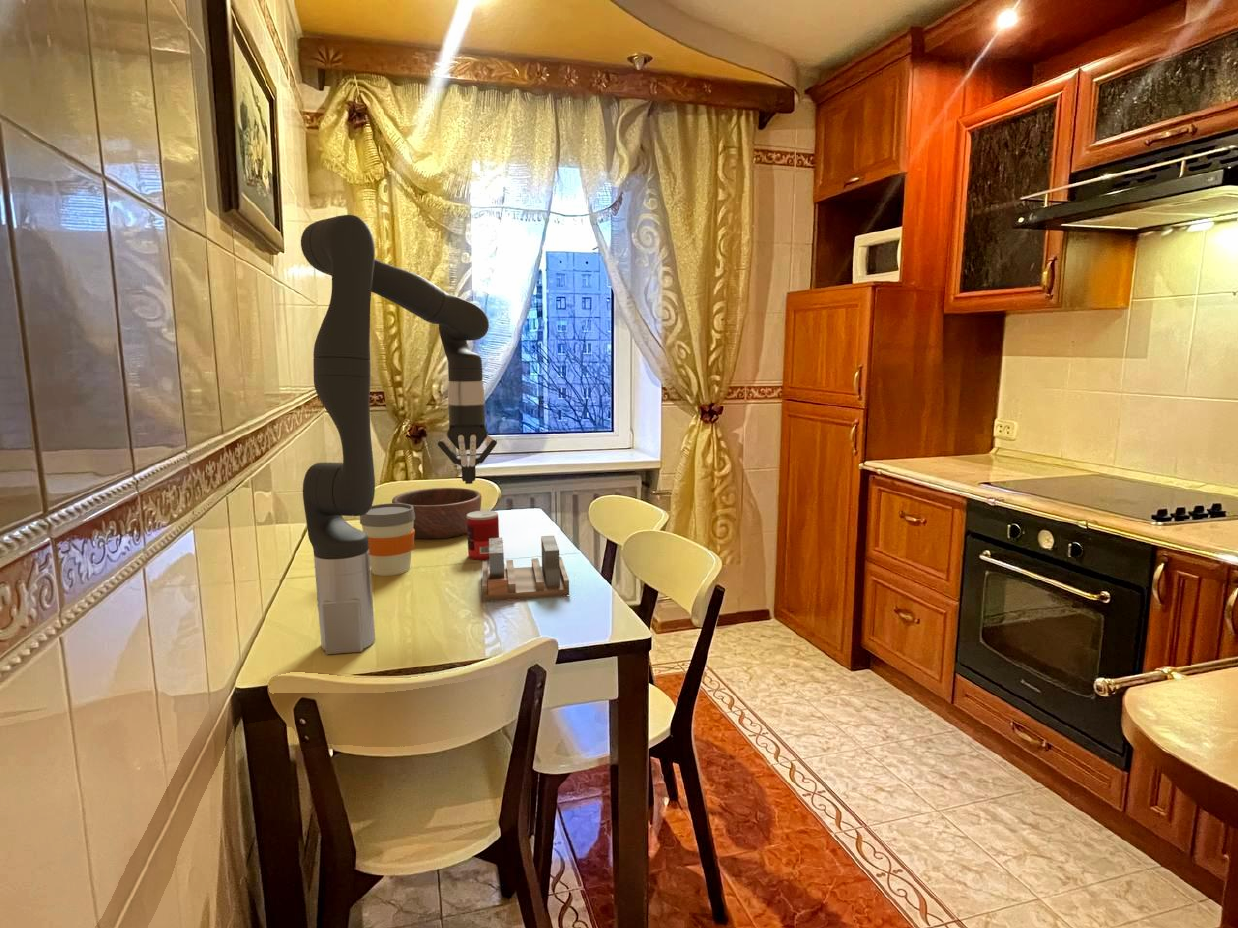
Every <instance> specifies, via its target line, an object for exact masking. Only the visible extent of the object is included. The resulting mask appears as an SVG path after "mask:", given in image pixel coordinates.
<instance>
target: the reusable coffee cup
mask: <svg viewBox="0 0 1238 928" xmlns="http://www.w3.org/2000/svg"><path fill="white" fill-rule="evenodd" d="M414 520H415V514H414V508H413V506H412V505H409V504H402V503H392V502H391V503H380V504H374V505H373V504H372V506H371V508H370V510H369V511H368V512H367V513H366V514H365V515H362V516H359V524H360V525H361V527H362V531H363V532H364V533H366V535H367V536H368V541H369V554H370V570H371V574H373V575H375V576H381V577H382V576H383V577H387V576H397V575H401V574H404V573H407V572H409V571H410V570H411V565H412V564H411V563H412V550H413V549H414V548H415V547H414V545H415V538H414V534H415V529H414V528H413V524H414Z"/></svg>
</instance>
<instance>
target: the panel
mask: <svg viewBox="0 0 1238 928" xmlns="http://www.w3.org/2000/svg"><path fill="white" fill-rule="evenodd" d="M503 539H504V538H503V537H499V538H489V559H488V560H489V570H490V579H505V578H504V569H505V557H504V540H503Z"/></svg>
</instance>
